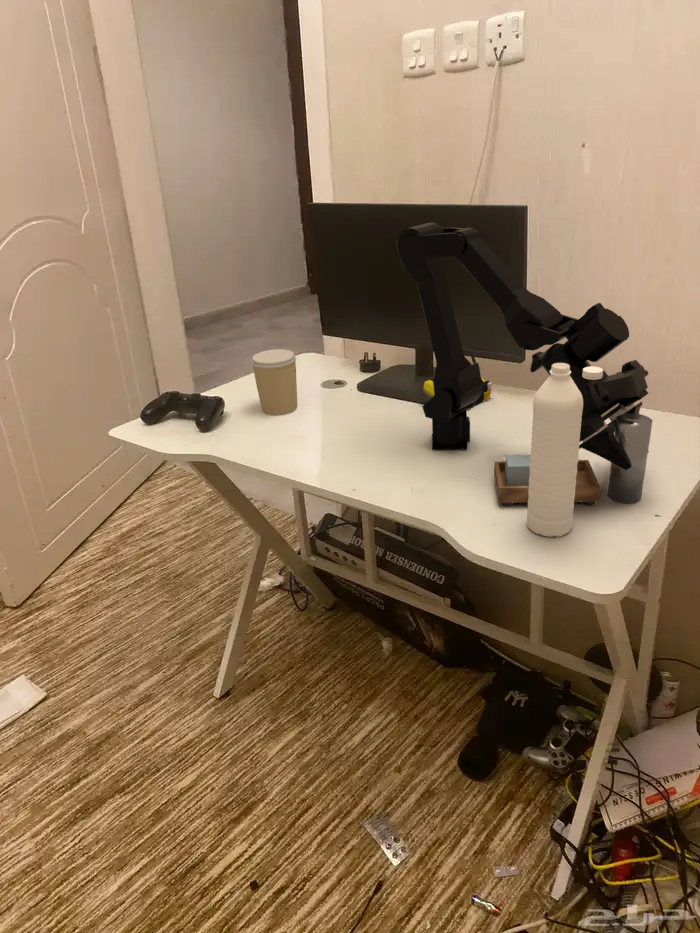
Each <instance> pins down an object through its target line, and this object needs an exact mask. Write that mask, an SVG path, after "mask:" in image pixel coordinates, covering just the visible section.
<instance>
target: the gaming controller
mask: <svg viewBox="0 0 700 933" xmlns="http://www.w3.org/2000/svg"><path fill="white" fill-rule="evenodd" d="M481 378H482V380H483V382H484V384H483V385H482V394H481V395H480V397H479V398H478V399H477V400H476V401H475V402H474V405H473V407H474V406H476V405H478V404H480V403H483V402H484V401H488V400H489V398H490V396H491V393H492V385H493V382H492V381H490V380H485V378H483V377H482V376H481ZM423 394H424V395H425V396H427V398H428V399H429V400H430V399H431V398H432V397H433V396H434V387H433V380H430V379H428V380H426V381H424V383H423Z"/></svg>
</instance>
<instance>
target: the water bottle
mask: <svg viewBox="0 0 700 933" xmlns="http://www.w3.org/2000/svg"><path fill="white" fill-rule="evenodd" d="M569 368H570V366H569V365H568V364H566V363H555V364H553V365H552V367H551V370H550V373H551V375H549V376H548V377H547V379H546V380H544V382H543V383H542V385H541V386H540V387H539V388H538V390H536V392H535V394H534V398H533V402H532V427H531V430H532V431H531V444H530V446H531V448H530V454H529V455H530V461H531V463H530V477H529V490H528V496H529V498H528V502H527V513H526V525H527V527H528V529H529V530H530V531H531V532H532V533H534V534H536V535H542V536H543V537H547V538H548V537H549V538H553V537H562V536H564V535H566V534H569V533H570V531H571V530H572V529H573V519H574V508H575V502H574V498H575V486H576V476H577V464H578V460H579V450H580V449H579V445H580V443H581V442H580V431H581V420H582V411H583V397H582V394H581V392H580V391H579V389H578V388H577V386H576V384H575V383H574V381H573V380H572V378H571V377H570V373H571V371H570V369H569ZM603 370H604V369H603V368H602V367H599V366H592V365H591V366H590V367H585V368H583V373H582V377H584V378H586V379H591V380H596V379H600V378H602V376H603ZM586 376H587V377H586ZM600 376H601V377H600ZM591 377H592V378H591ZM593 377H596V378H593ZM579 442H580V443H579Z"/></svg>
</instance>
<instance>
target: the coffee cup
mask: <svg viewBox="0 0 700 933" xmlns="http://www.w3.org/2000/svg"><path fill="white" fill-rule="evenodd" d="M296 361H297V357H296V355H295V353H294V352H293V351H292V350H288V349H284V348H283V349H282V348H281V349H279V348H277V349H275V348H274V349H267V350H263V351H259V352H258V353H256V354H254V355H253V356H252V359H251V366H252V370H253V374H254V380H255V383H256V389H257V393H258V398H259V402H260V404H259V405H260V407H261V411H262V413H263V414H265V415H269V416H273V417H275V416H276V417H277V416H285V415H289V414H291V413H293V412H295V411H296V410H297V408H298V386H297V365H296Z"/></svg>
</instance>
